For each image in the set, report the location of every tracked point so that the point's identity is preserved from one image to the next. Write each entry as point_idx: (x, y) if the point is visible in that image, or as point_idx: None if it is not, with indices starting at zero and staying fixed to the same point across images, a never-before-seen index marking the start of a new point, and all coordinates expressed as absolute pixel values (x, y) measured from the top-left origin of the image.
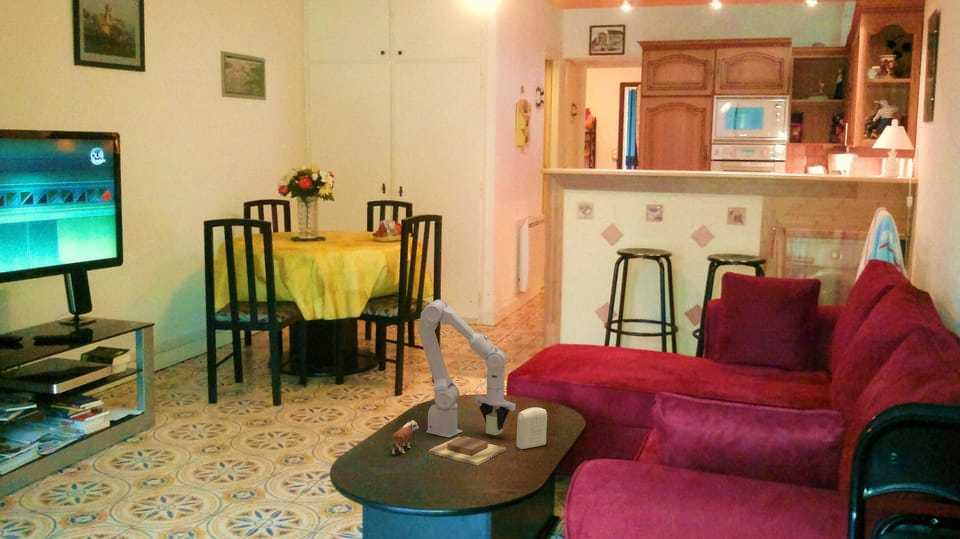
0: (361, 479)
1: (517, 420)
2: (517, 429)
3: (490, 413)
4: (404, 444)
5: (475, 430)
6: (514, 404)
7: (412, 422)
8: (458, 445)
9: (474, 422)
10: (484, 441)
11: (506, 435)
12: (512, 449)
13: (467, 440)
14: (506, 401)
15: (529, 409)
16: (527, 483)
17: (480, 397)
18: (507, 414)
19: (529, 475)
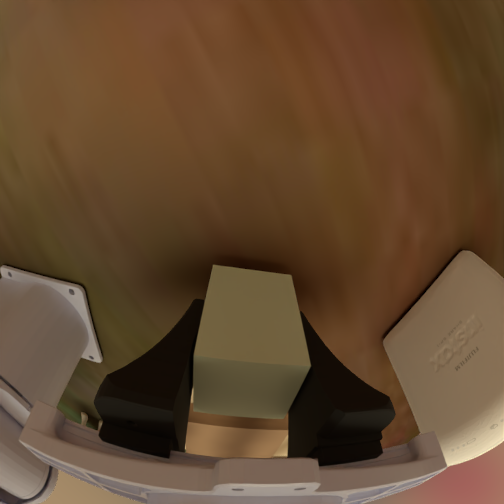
0: None
1: (421, 431)
2: (408, 397)
3: (196, 382)
4: (86, 421)
5: (106, 233)
6: (435, 473)
7: None
8: (221, 456)
9: (41, 118)
10: (278, 431)
11: (301, 228)
12: (368, 363)
13: (220, 438)
14: (370, 484)
15: (495, 442)
16: (402, 442)
17: (69, 471)
18: (356, 377)
19: (408, 428)
